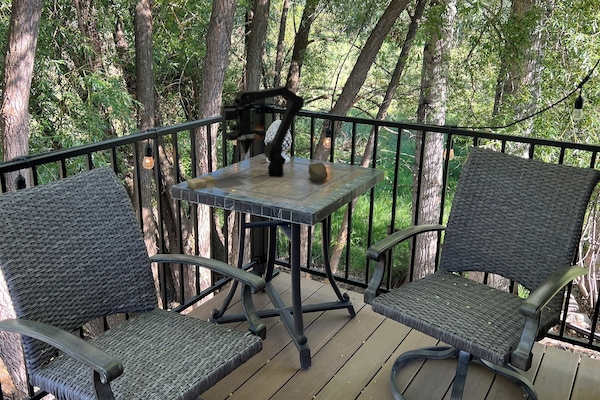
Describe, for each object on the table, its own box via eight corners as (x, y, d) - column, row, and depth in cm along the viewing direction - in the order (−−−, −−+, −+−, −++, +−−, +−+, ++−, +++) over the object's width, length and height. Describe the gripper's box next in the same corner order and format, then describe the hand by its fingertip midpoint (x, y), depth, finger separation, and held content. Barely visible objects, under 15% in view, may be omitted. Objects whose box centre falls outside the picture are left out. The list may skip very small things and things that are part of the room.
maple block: (210, 175, 258) (187, 180, 252) (216, 178, 253) (193, 183, 247) (210, 183, 259) (187, 187, 253) (216, 186, 254) (193, 191, 248)
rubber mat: (231, 178, 269) (230, 177, 269) (245, 185, 258) (245, 184, 258) (205, 182, 262) (205, 181, 262) (219, 189, 251) (219, 188, 251)
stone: (306, 175, 275) (306, 159, 272) (324, 175, 275) (325, 158, 273) (310, 185, 259) (310, 168, 256) (330, 184, 259) (330, 167, 257)
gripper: (253, 114, 271) (254, 147, 276) (218, 118, 261) (219, 152, 265) (266, 118, 262) (266, 152, 267) (229, 122, 252) (230, 157, 257)
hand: (245, 153), depth 264 cm, fingers closed
